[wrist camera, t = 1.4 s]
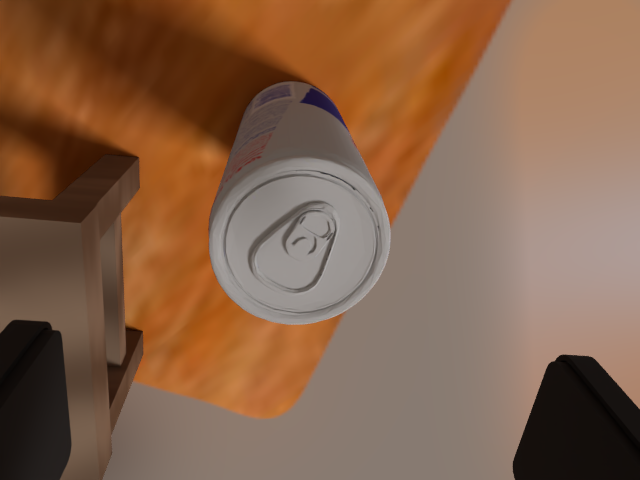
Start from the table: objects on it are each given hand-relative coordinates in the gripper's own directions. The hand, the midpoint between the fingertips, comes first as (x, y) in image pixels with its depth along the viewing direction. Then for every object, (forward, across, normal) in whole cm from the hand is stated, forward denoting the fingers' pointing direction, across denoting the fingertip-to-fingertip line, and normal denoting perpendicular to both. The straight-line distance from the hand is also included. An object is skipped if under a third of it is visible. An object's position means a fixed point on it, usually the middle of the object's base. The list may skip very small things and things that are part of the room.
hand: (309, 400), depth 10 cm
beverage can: (+21, 0, -1) cm, 21 cm away
